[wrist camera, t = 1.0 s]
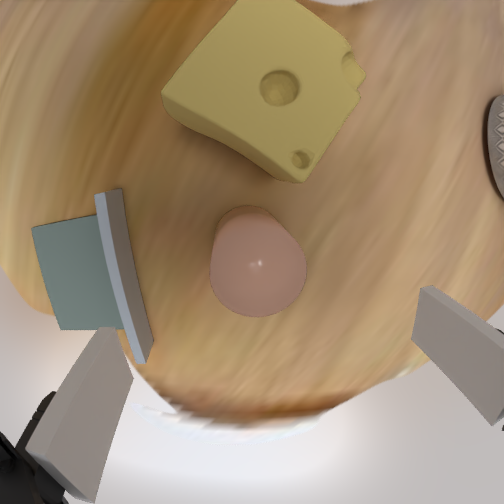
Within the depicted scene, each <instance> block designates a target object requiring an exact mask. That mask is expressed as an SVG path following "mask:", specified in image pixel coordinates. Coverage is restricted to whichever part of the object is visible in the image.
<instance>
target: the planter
mask: <svg viewBox="0 0 504 504" xmlns="http://www.w3.org/2000/svg"><path fill="white" fill-rule="evenodd" d="M488 149H489V156H490V162H491V167H492V171H493V175H494V178H495V181H496V184H497V187H498V189H499V191H500V193H501V195H502V196H503V198H504V95H500V96H498V97H497V98H496V99H495V100H494V101H493V103H492V106H491V108H490V112H489V118H488Z"/></svg>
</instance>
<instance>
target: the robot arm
mask: <svg viewBox="0 0 504 504" xmlns="http://www.w3.org/2000/svg"><path fill="white" fill-rule="evenodd" d="M411 340H412V341H413V342H414V343H415V344H416V345H417V346H418V347H419V348H420V349H421V350H422V351H423V352H424V353H425V354H426V355H427V356H428V357H429V358H430V359H431V360H432V361H433V362H434V363H435V364H436V365H437V366H438V367H439V368H440V369H441V370H442V372H443V373H444V374H445V375H446V376H447V377H448V378H449V379H450V380H451V381H452V382H453V383H454V384H455V385H456V387H457V388H458V389H459V390H460V391H461V392H462V393H463V394H464V395H465V396H466V397H467V399H468V400H469V401H470V402H471V403H472V404H473V405H474V406H475V408H477V410H478V411H479V412H480V413H481V414H482V415H483V417H484V418H485V419H486V420H487V421H488V422H489V424H490V425H491V426H493V425H494V424H495V423H497V422H498V421H500V419H502V418H503V417H504V333H503V332H502V331H501V330H499V329H496V328H494V327H493V326H491V325H490V324H488V323H487V322H486V321H484V320H483V319H482V318H480V317H479V316H477V315H476V314H474V313H473V312H472V311H470V310H469V309H467V308H466V307H464V306H463V305H461V304H460V303H458V302H457V301H455V300H454V299H452V298H451V297H449V296H448V295H446V294H445V293H443V292H442V291H440V290H439V289H437V288H436V287H434V286H433V285H432V286H427V287H423V288H420V294H419V300H418V306H417V312H416V318H415V323H414V328H413V333H412V337H411ZM133 379H134V378H133V376H132V373H131V371H130V368H129V365H128V363H127V360H126V357H125V355H124V352H123V349H122V346H121V343H120V341H119V338H118V335H117V332H116V329H115V327H99V328H98V330H97V331H96V332H95V334H94V335H93V337H92V338H91V340H90V341H89V343H88V344H87V346H86V347H85V349H84V350H83V352H82V353H81V355H80V356H79V358H78V359H77V361H76V362H75V364H74V365H73V367H72V368H71V370H70V372H69V373H68V375H67V376H66V378H65V379H64V381H63V383H62V384H61V386H60V387H59V389H58V391H57V392H55V391H52V392H51V393H50V394H49V395H47V396H46V397H45V398H44V399H43V400H42V402H41V403H40V405H39V406H38V408H37V412H35V413H34V415H33V416H32V420H30V422H29V423H28V425H27V427H26V429H25V430H24V432H23V434H22V436H21V438H20V439H19V441H18V443H17V445H16V447H15V448H14V447H13V445H12V444H11V443H10V442H9V441H8V439H7V438H6V437H5V436H4V435H3V433H1V432H0V504H69V503H68V501H67V500H66V499H65V497H64V496H63V495H64V492H65V490H66V491H67V492H68V493H69V494H71V495H72V496H73V497H74V498H76V499H79V500H83V501H86V502H90V503H95V499H96V495H97V492H98V488H99V484H100V480H101V477H102V473H103V469H104V466H105V463H106V460H107V456H108V453H109V450H110V447H111V443H112V440H113V437H114V434H115V431H116V427H117V425H118V421H119V419H120V415H121V413H122V410H123V407H124V404H125V401H126V398H127V395H128V393H129V390H130V387H131V384H132V382H133ZM502 431H504V425H503V428H502Z"/></svg>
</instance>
